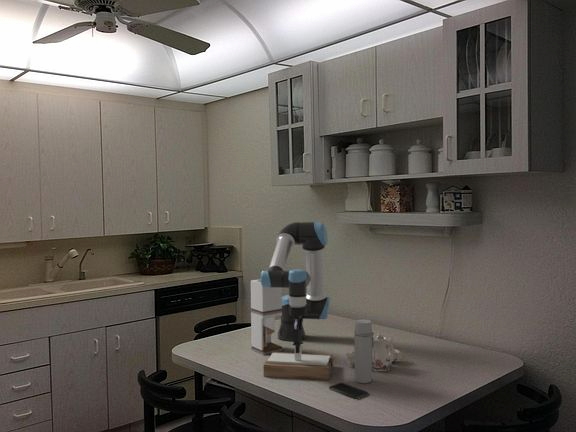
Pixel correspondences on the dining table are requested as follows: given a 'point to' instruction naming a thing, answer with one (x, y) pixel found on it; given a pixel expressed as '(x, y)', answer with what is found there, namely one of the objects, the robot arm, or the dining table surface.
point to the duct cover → (304, 360)
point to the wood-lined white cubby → (264, 316)
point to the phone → (348, 391)
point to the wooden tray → (299, 370)
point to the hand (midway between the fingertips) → (298, 359)
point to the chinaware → (379, 354)
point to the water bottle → (363, 351)
